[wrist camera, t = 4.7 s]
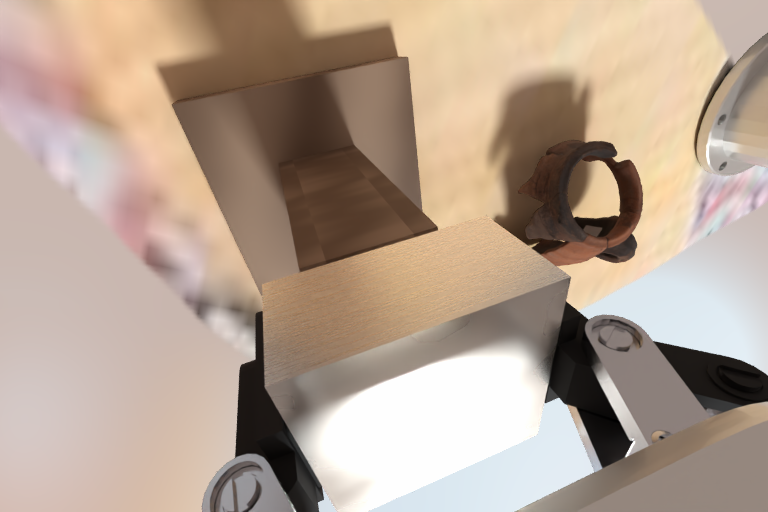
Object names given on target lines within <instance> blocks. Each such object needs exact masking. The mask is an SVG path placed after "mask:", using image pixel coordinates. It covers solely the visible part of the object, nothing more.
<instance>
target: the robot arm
mask: <svg viewBox="0 0 768 512" xmlns="http://www.w3.org/2000/svg"><path fill="white" fill-rule="evenodd" d="M697 158H698V161H699V163H700V166H701V167H702V168H703V169H704V170H705V171H707V172H709V173H712V174H716V175H721V176H731V175H735V174H738V173H741V172H743V171H745V170H747V169H749V168H751V167H753V166H755V165H757V166H762V167H766V168H768V33H767V34H765V35H764V36H763V37H762V38H761V39H759V40H758V41H757V42H756V43H755V44H754V45H753V46H752V47H750V48H749V50H748V51H747V52H746V53H745V54H744V55H743V56H742V57H741V58H740V59H739V60H738V61H737V63H736V64H735V65H734V66H733V68H732V69H731V70H730V72H729V73H728V74H727V76H726V77H725V78H724V80H723V82H722V83H721V85H720V86H719V88H718V89H717V91H716V92H715V94H714V96H713V98H712V100H711V102H710V104H709V106H708V108H707V110H706V113H705V115H704V118H703V120H702V123H701V126H700V130H699V134H698V139H697ZM556 398H560V399H561V400H562V401H563V403H564V404H567V405H568V408H569V411H570V413H571V415H572V418H573V420H574V423H575V425H576V428H577V430H578V433H579V435H580V437H581V440H582V442H583V445H584V447H585V449H586V452H587V454H588V457H589V459H590V462H591V464H592V467H593V468H594V473H592V474H590V475H588V476H586V477H584V478H582V479H580V480H578V481H576V482H574V483H572V484H570V485H568V486H566V487H564V488H562V489H560V490H558V491H556V492H553V493H552V494H549V495H548V496H545V497H543V498H542V499H540V500H537V501H535V502H533V503H531V504H529V505H527V506H525V507H523V508H521V509H519V510H517V511H515V512H768V376H767V375H766V374H765V373H764V372H762V371H760V370H759V369H757V368H756V367H754V366H752V365H750V364H748V363H745V362H743V361H741V360H737V359H734V358H730V357H726V356H722V355H717V354H711V353H707V352H703V351H698V350H693V349H688V348H684V347H679V346H674V345H669V344H664V343H660V342H655V341H652V339H651V338H650V337H649V335H648V334H647V333H646V332H645V331H644V330H643V329H642V328H641V327H640V326H638V325H637V324H635V323H633V322H632V321H630V320H627V319H625V318H623V317H618V316H614V315H599V316H595V317H593V318H591V319H589V320H588V319H587V318H586V317H584V316H583V315H582V314H581V313H580V312H578V311H577V310H576V309H575V308H574V307H572V306H571V305H570V304H569V303H567V302H566V303H565V308H564V312H563V317H562V322H561V326H560V331H559V336H558V341H557V345H556V350H555V355H554V359H553V364H552V369H551V373H550V378H549V383H548V387H547V392H546V397H545V403H547V402H550V401H552V400H554V399H556ZM322 500H324V497H323V490H322V485H321V483H320V482H319V480H318V478H317V476H316V475H315V473H314V471H313V470H312V468H311V466H310V464H309V463H308V461H307V459H306V457H305V456H304V454H303V452H302V451H301V449H300V447H299V445H298V444H297V442H296V440H295V439H294V437H293V435H292V433H291V432H290V430H289V428H288V426H287V425H286V423H285V421H284V420H283V418H282V416H281V414H280V413H279V411H278V409H277V408H276V406H275V404H274V402H273V401H272V399H271V397H270V395H269V394H268V392H267V390H266V389H265V375H264V337H263V311H261V312H258V313H256V360H253V361H251V362H248V363H245V364H242V365H241V367H240V373H239V394H238V413H237V433H236V453H235V458H234V459H233V460H231V461H229V462H228V463H226V464H225V465H224V466H223V467H222V468H221V469H220V470H219V471H218V472H217V473H216V475H215V476H214V477H213V479H212V480H211V482H210V483H209V485H208V487H207V490H206V492H205V494H204V498H203V503H202V512H319V508H318V502H319V501H322Z"/></svg>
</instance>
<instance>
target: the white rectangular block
mask: <svg viewBox="0 0 768 512" xmlns="http://www.w3.org/2000/svg"><path fill="white" fill-rule="evenodd" d="M570 279H571V277H570V276H569V275H568V274H566V273H565V272H563V271H562V270H561V269H559V268H558V267H557V266H555V265H554V264H552V263H551V262H550V261H548V260H547V259H545V258H544V257H543V256H541V255H540V254H539V253H537V252H536V251H534V250H533V249H532V248H530V247H529V246H528V245H526V244H525V243H523V242H522V241H521V240H519V239H518V238H517V237H515V236H514V235H512V234H511V233H510V232H508V231H507V230H505V229H504V228H503V227H501V226H500V225H499V224H497V223H496V222H494V221H493V220H492V219H490V218H489V217H488V216H483V217H480V218H477V219H473V220H470V221H467V222H463V223H460V224H457V225H454V226H450V227H447V228H444V229H440V230H437V231H434V232H431V233H427V234H424V235H421V236H418V237H414V238H411V239H408V240H404V241H401V242H398V243H395V244H391V245H388V246H385V247H382V248H378V249H375V250H372V251H368V252H365V253H362V254H359V255H355V256H352V257H349V258H345V259H342V260H339V261H336V262H332V263H329V264H326V265H323V266H319V267H316V268H313V269H309V270H306V271H303V272H300V273H296V274H293V275H290V276H287V277H283V278H280V279H277V280H273V281H270V282H267V283H264V284H262V300H263V337H264V375H265V389H266V390H267V392H268V394H269V395H270V397H271V399H272V401H273V402H274V404H275V406H276V408H277V409H278V411H279V413H280V414H281V416H282V418H283V420H284V421H285V423H286V425H287V426H288V428H289V430H290V432H291V433H292V435H293V437H294V439H295V440H296V442H297V444H298V445H299V447H300V449H301V451H302V452H303V454H304V456H305V457H306V459H307V461H308V463H309V464H310V466H311V468H312V470H313V471H314V473H315V475H316V476H317V478H318V480H319V482H320V483H321V485H322V487H323V488H324V490H325V492H326V494H327V495H328V497H329V499H330V500H331V502H332V504H333V506H334V507H335V509H336V511H337V512H367V511H369V510H371V509H373V508H376V507H378V506H380V505H383V504H385V503H387V502H389V501H391V500H394V499H396V498H398V497H400V496H402V495H405V494H407V493H409V492H411V491H414V490H416V489H418V488H420V487H422V486H425V485H427V484H429V483H431V482H434V481H436V480H438V479H440V478H442V477H445V476H447V475H449V474H451V473H453V472H456V471H458V470H460V469H462V468H465V467H467V466H469V465H471V464H473V463H476V462H478V461H480V460H482V459H485V458H487V457H489V456H491V455H493V454H496V453H498V452H500V451H502V450H505V449H507V448H509V447H511V446H513V445H516V444H518V443H520V442H522V441H524V440H526V439H529V438H531V437H533V436H535V435H537V434H538V429H539V425H540V420H541V415H542V410H543V406H544V402H545V397H546V392H547V387H548V383H549V378H550V373H551V369H552V364H553V359H554V355H555V350H556V345H557V341H558V336H559V331H560V326H561V322H562V317H563V312H564V308H565V303H566V298H567V294H568V289H569V284H570Z"/></svg>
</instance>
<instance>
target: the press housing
mask: <svg viewBox="0 0 768 512" xmlns="http://www.w3.org/2000/svg"><path fill="white" fill-rule="evenodd" d="M172 106H173V108H174V111H175V113H176V115H177V117H178V119H179V121H180V123H181V125H182V128H183V130H184V132H185V134H186V136H187V138H188V140H189V143H190V145H191V147H192V149H193V151H194V153H195V155H196V157H197V160H198V162H199V164H200V166H201V168H202V170H203V172H204V174H205V177H206V179H207V181H208V183H209V185H210V187H211V189H212V192H213V194H214V196H215V198H216V200H217V202H218V204H219V206H220V209H221V211H222V213H223V215H224V217H225V219H226V221H227V223H228V226H229V228H230V230H231V232H232V234H233V236H234V238H235V241H236V243H237V245H238V247H239V249H240V251H241V253H242V255H243V258H244V260H245V262H246V264H247V266H248V268H249V270H250V272H251V275H252V277H253V279H254V281H255V283H256V285H257V287H258V290H259V292H260V294H261V296H262V284H264V283H267V282H270V281H273V280H277V279H280V278H283V277H287V276H290V275H293V274H296V273H300V272H303V271H306V270H309V269H313V268H316V267H319V266H323V265H326V264H329V263H332V262H336V261H339V260H342V259H345V258H349V257H352V256H355V255H359V254H362V253H365V252H368V251H372V250H375V249H378V248H382V247H385V246H388V245H391V244H395V243H398V242H401V241H404V240H408V239H411V238H414V237H418V236H421V235H424V234H427V233H431V232H434V231H437V230H438V227H437V226H436V225H435V224H434V223H433V222H432V221H431V220H430V219H429V218H428V217H427V216H426V215H425V214H424V213H423V212H422V202H421V191H420V181H419V170H418V159H417V148H416V137H415V127H414V116H413V105H412V94H411V83H410V73H409V62H408V57H394V58H389V59H384V60H379V61H374V62H369V63H364V64H359V65H354V66H349V67H344V68H339V69H334V70H329V71H324V72H319V73H314V74H309V75H304V76H299V77H294V78H289V79H283V80H278V81H273V82H268V83H263V84H258V85H253V86H248V87H243V88H238V89H233V90H228V91H223V92H218V93H213V94H208V95H203V96H198V97H193V98H188V99H183V100H178V101H176V102H175V103H173V104H172Z"/></svg>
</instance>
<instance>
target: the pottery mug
mask: <svg viewBox="0 0 768 512" xmlns="http://www.w3.org/2000/svg"><path fill="white" fill-rule="evenodd" d="M616 155H617V151H616V149H615V147H614V146H613V144H611V143H608V142H603V141H592V142H588V143H585V142H581V141H577V140H571V141H565V142H562V143H559V144H557V145H555V146H553V147H551V148H549V149H548V150H547V152H546V156H543V157H542V158H541V159H540V161H539V163H538V165H537V168H536V170H535V172H534V174H533V176H532V177H531V178H530V180H529V181H528V182H527V183H525V184H524V185H523V186H522V187H521V188H520V189H519V190H518V193H524V194H527V195H529V196H531V197H533V198H535V199H538V200H540V201H541V202H543V203H544V205H543V206H542V207H540V208H539V209H537V210H536V211H535V213H534V215H533V217H532V219H531V221H530V223H529V224H528V225H527V226H526V228H525V233H526V237H527V238H528V239H537V238H542V240H541V241H540V242H539V243H538V244H537V245H536V246H534V247H532V249H533V250H534V251H536V252H537V253H539V254H540V255H541V256H543V257H544V258H545V259H547V260H548V261H550V262H551V263H552V264H554V265H555V266H561V265H570V264H575V263H581V262H584V261H587V260H589V259H591V258H593V257H598V258H600V259H603V260H605V261H609V262H612V263H619V262H626V261H627V260H629V259H631V258H632V257H633V256H634V255H635V249H636V248H637V242H636V240H635V237H634V236H633V234H631V233H632V232H633V231H634V229H635V228H636V226H637V224H638V222H639V219H640V216H641V212H642V205H643V192H642V185H641V182H640V178H639V175H638V172H637V170H636V168H635V166H634V164H633V163H632V161H630V160H624V161H621V162H619V163H618V162H616V161H615V160H614V159H613V158H612V157H615V156H616ZM581 159H582V160H584V161H588V162H591V161H595V160H600V161H603V162H605V163H606V165H607V166H608V167H609V168H610V170H611V171H612V173H613V175H614V177H615V179H616V181H617V184H618V188H619V195H620V209H619V211H620V215H619V217H618V216H611V217H603V218H597V219H594V218H580V217H575V218H574V217H573V215H572V212H571V210H570V207H569V204H568V196H567V194H568V193H567V191H568V184H569V179H570V176H571V173H572V171H573V168H574V167H575V165H576V164H577V163H578V162H579V161H580V160H581ZM559 240H562V241H565V242H562V241H559Z"/></svg>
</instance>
